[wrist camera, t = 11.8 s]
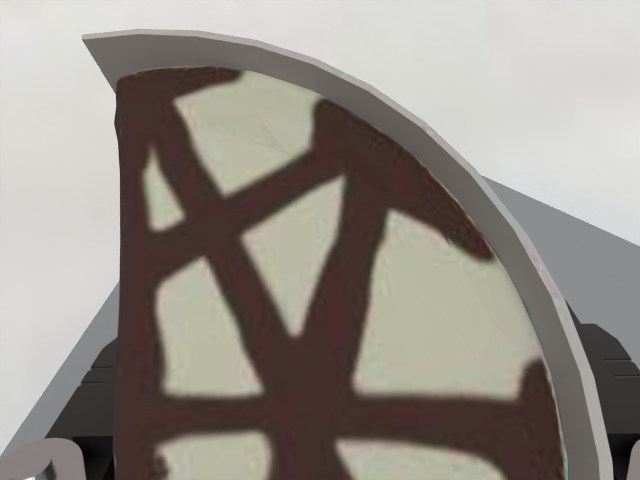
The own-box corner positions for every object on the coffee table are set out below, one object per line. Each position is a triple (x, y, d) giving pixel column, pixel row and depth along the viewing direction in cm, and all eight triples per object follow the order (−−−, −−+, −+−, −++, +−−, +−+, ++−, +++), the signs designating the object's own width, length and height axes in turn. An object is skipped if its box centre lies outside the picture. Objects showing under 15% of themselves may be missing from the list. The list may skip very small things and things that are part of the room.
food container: (539, 688, 13) (942, 1260, 4) (278, 724, 14) (70, 1355, 4) (430, 206, 18) (500, -67, 8) (232, 238, 18) (81, 4, 8)
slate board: (-40, 543, 18) (-63, 549, 17) (263, 90, 22) (258, 75, 21) (514, 974, 14) (525, 1014, 13) (749, 311, 18) (770, 305, 17)
